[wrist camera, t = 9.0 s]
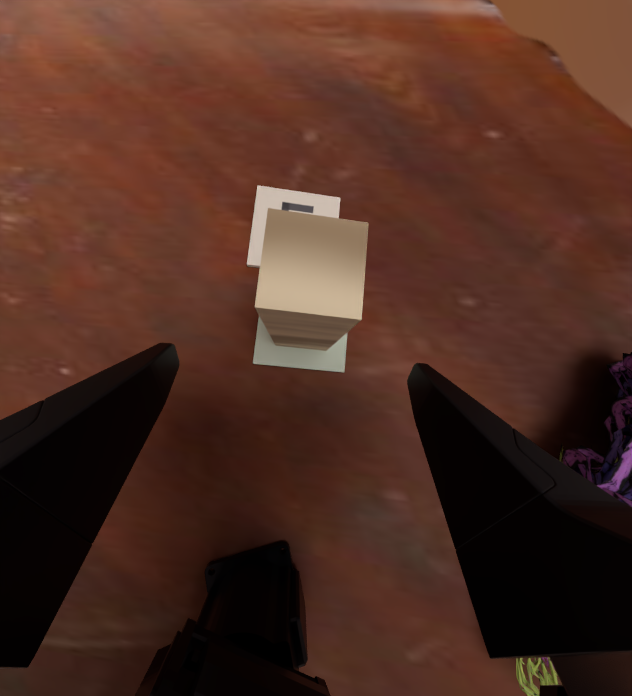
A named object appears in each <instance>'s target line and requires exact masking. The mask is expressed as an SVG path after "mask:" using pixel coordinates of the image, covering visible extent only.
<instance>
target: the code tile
mask: <svg viewBox="0 0 632 696" xmlns="http://www.w3.org/2000/svg"><path fill="white" fill-rule="evenodd" d="M339 207H340V198H338V197H331V196H324V195H318V194H311V193H305V192H298V191H291V190H285V189H278V188H271V187H265V186H258V187H257V194H256V201H255V209H254V216H253V223H252V230H251V238H250V245H249V252H248V259H247V266H249V267H257V268H260V264H261V256H262V249H263V241H264V234H265V226H266V219H267V211H268V208H272V209H278V210H285V211H292V212H299V213H305V214H312V215H319V216H326V217H332V218H339Z"/></svg>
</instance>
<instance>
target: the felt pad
mask: <svg viewBox="0 0 632 696" xmlns="http://www.w3.org/2000/svg"><path fill="white" fill-rule="evenodd" d="M346 343H347V333H346V334H345V335H344V336H343V337H341V338H340V339H339V340H338V341H337V342H336V343H335V344H334V345H332V346H331V347H330V348H329V349H328V350H327V351H322V350H313V349H303V348H294V347H284V346H276V345H275V344H274V342H273V340H272V338H271V336H270V334H269V333H268V331H267V329H266V327H265V325H264V323H263V322H262V320H261V318H260V316H259V319H258V327H257V335H256V343H255V351H254V359H253V364H260V365H270V366H281V367H291V368H302V369H312V370H322V371H333V372H344V369H345V356H346Z"/></svg>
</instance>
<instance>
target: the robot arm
mask: <svg viewBox="0 0 632 696" xmlns="http://www.w3.org/2000/svg"><path fill="white" fill-rule="evenodd" d="M178 368H179V358H178V355H177V352H176V348H175V346H174V344H172V343H159V344H157V345H155V346H153V347H151V348H149V349H146V350H144V351H142V352H140V353H138V354H136V355H134V356H132V357H130V358H128V359H126V360H124V361H122V362H120V363H118V364H116V365H114V366H111V367H109V368H107V369H105V370H103V371H101V372H99V373H97V374H95V375H93V376H91V377H89V378H87V379H85V380H83V381H81V382H79V383H77V384H74V385H72V386H70V387H68V388H66V389H64V390H62V391H60V392H58V393H56V394H54V395H52V396H50V397H48V398H46V399H45V400H44V401H43V400H42V401H39V402H37V403H35V404H33V405H31V406H29V407H27V408H25V409H23V410H21V411H19V412H17V413H14V414H12V415H10V416H8V417H6V418H4V419H2V420H0V669H2V668H27V667H28V666H29V665H30V663H31V661H32V660H33V658H34V656H35V654H36V652H37V651H38V649H39V647H40V645H41V643H42V641H43V639H44V637H45V635H46V633H47V631H48V629H49V627H50V625H51V623H52V622H53V620H54V618H55V616H56V614H57V612H58V610H59V608H60V606H61V604H62V602H63V600H64V598H65V596H66V595H67V593H68V591H69V589H70V587H71V585H72V583H73V581H74V579H75V577H76V575H77V573H78V571H79V569H80V567H81V566H82V564H83V562H84V560H85V558H86V556H87V554H88V552H89V550H90V548H91V546H92V543H93V542H94V540H95V538H96V536H97V534H98V532H99V530H100V528H101V526H102V525H103V523H104V521H105V519H106V517H107V515H108V513H109V511H110V509H111V507H112V505H113V503H114V501H115V499H116V498H117V496H118V494H119V492H120V490H121V488H122V486H123V484H124V482H125V480H126V478H127V476H128V474H129V472H130V471H131V469H132V467H133V465H134V463H135V461H136V459H137V457H138V455H139V453H140V451H141V449H142V447H143V445H144V443H145V442H146V440H147V438H148V436H149V434H150V432H151V430H152V428H153V426H154V424H155V422H156V420H157V418H158V416H159V415H160V413H161V411H162V409H163V407H164V405H165V402H166V400H167V398H168V395H169V392H170V390H171V387H172V384H173V382H174V379H175V376H176V374H177V371H178ZM407 384H408V389H409V395H410V400H411V405H412V410H413V415H414V419H415V423H416V426H417V429H418V432H419V435H420V439H421V442H422V445H423V448H424V451H425V455H426V458H427V461H428V464H429V467H430V470H431V474H432V477H433V480H434V483H435V486H436V489H437V493H438V496H439V499H440V502H441V505H442V508H443V512H444V515H445V518H446V521H447V524H448V528H449V531H450V534H451V537H452V540H453V543H454V547H455V549H456V554H457V557H458V560H459V563H460V566H461V569H462V573H463V576H464V579H465V582H466V585H467V588H468V592H469V595H470V598H471V601H472V604H473V607H474V611H475V614H476V617H477V620H478V623H479V626H480V630H481V633H482V636H483V639H484V642H485V645H486V648H487V651H488V654H489V656H490V658H491V659H499V658H548V657H549V658H550V660H551V662H552V664H553V666H554V668H555V670H556V672H557V674H558V676H559V678H560V681H561V683H562V685H540V693H539V696H632V507H630V506H629V505H627V504H625V503H623V502H621V501H620V500H618V499H616V498H615V497H613V496H612V495H610V494H609V493H607V492H606V491H604V490H603V489H601V488H600V487H598V486H597V485H595V484H594V483H592V482H591V481H589V480H588V479H586V478H585V477H583V476H582V475H580V474H579V473H577V472H576V471H574V470H573V469H571V468H570V467H568V466H567V465H565V464H564V463H562V462H561V461H559V460H558V459H556V458H555V457H553V456H552V455H550V454H549V453H547V452H546V451H545V450H543V449H542V448H540V447H539V446H537V445H536V444H535V443H533V442H532V441H531V440H529V439H528V438H526V437H525V436H524V435H522V434H521V433H520V432H518V431H517V430H516V429H514V428H513V429H512V427H511V426H510V425H509V424H507V423H506V422H505V421H503V420H502V419H501V418H499V417H498V416H497V415H495V414H494V413H493V412H491V411H490V410H488V409H487V408H486V407H484V406H483V405H482V404H480V403H479V402H478V401H476V400H475V399H474V398H472V397H471V396H470V395H468V394H467V393H465V392H464V391H463V390H461V389H460V388H459V387H457V386H456V385H455V384H453V383H452V382H451V381H449V380H448V379H447V378H445V377H444V376H443V375H441V374H440V373H438V372H437V371H436V370H434V369H433V368H432V367H430V366H429V365H428V364H424V363H416V364H415V365H414V366H413V368H412V371H411V373H410V375H409V377H408V380H407ZM282 548H285V549H286V550H285V551H284V552H282V551H281V550H280V549H282ZM211 568H213V569H214V570H215V571H214V572H212V571H211V570H210V569H211ZM205 578H206V585H207V592H208V595H207V598H206V600H205V603H204V605H203V608H202V610H201V613H200V615H199V618H198V620H197V623H196V621H194V620H192V619H190V618H188V619H187V621H186V623H185V625H184V628H183V630H182V632H180V631H178V632H177V634H176V636H175V638H174V640H173V642H172V644H170V645H168V646H166V647H163V648H161V649H159V650H158V651H157V653H156V655H155V657H154V659H153V661H152V663H151V665H150V667H149V669H148V671H147V673H146V675H145V677H144V679H143V681H142V683H141V685H140V687H139V689H138V691H137V693H136V695H135V696H330V694H329V691H328V688H327V685H326V682H325V680H323V679H321V678H319V677H317V676H316V677H315V678H312V677H310V676H308V675H306V674H304V673H301V672H299V667H302V666H305V665H306V662H307V660H308V656H307V636H306V615H305V602H304V596H303V591H302V585H301V580H300V574H299V571H298V570H297V569H294V570H293V564H292V559H291V553H290V548H289V544H288V543H287V542H285V541H282V542H279V543H275V544H271V545H268V546H264V547H261V548H257V549H254V550H250V551H247V552H243V553H239V554H236V555H232V556H229V557H225V558H222V559H218V560H215V561H212V562H210V563H209V564H208V565H207V568H206V570H205Z"/></svg>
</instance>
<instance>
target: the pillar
mask: <svg viewBox="0 0 632 696" xmlns="http://www.w3.org/2000/svg"><path fill="white" fill-rule="evenodd" d="M367 236H368V223H366V222H359V221H353V220H346V219H339V218H332V217H326V216H319V215H312V214H305V213H299V212H292V211H285V210H278V209H272V208H268V211H267V219H266V226H265V234H264V241H263V249H262V256H261V264H260V271H259V279H258V286H257V294H256V301H255V309H256V311H257V312H258V314H259V316H260V318H261V320H262V322H263V323H264V325H265V327H266V329H267V331H268V333H269V334H270V336H271V338H272V340H273V342H274V344H275V345H276V346H284V347H294V348H303V349H313V350H322V351H327V350H328V349H329V348H330V347H331V346H332V345H334V344H335V343H336V342H337V341H338V340H339V339H340V338H341V337H343V336H344V335H345V334H346V333H347V332H348V331H349V330H350V329H352V328H353V327H354V326H355V325H356V324H357V323H358V322H360V321H361V320H362V306H363V292H364V278H365V264H366V250H367Z"/></svg>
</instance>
